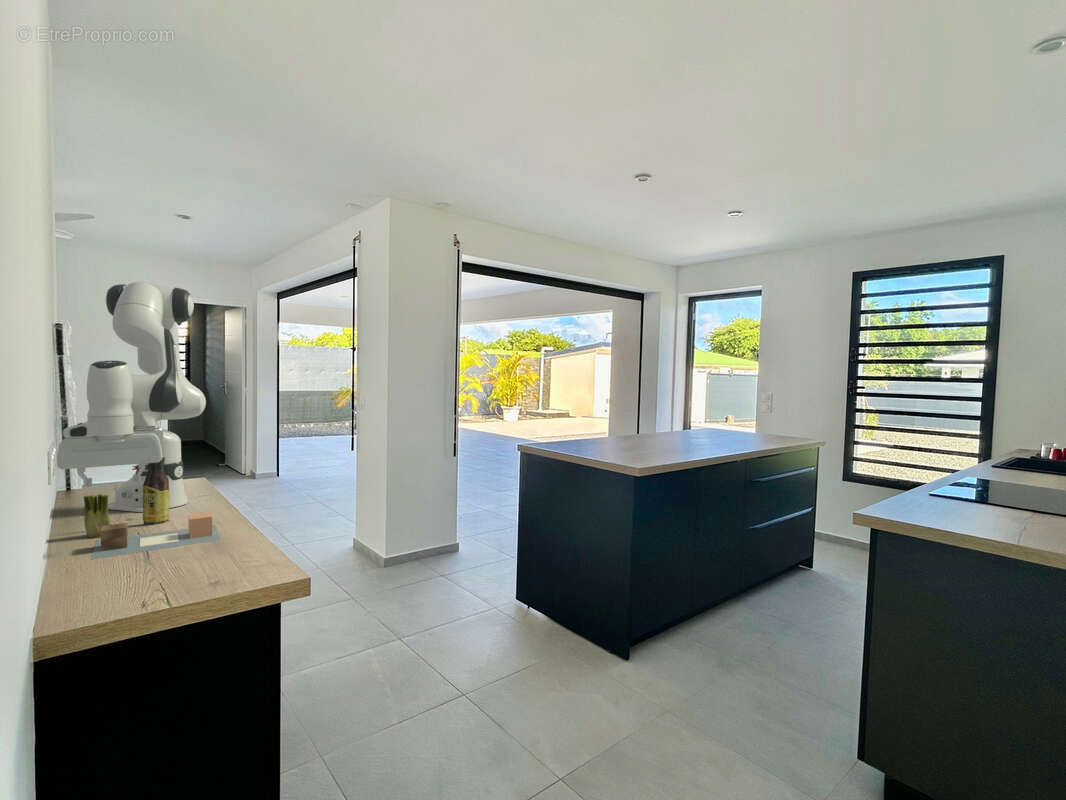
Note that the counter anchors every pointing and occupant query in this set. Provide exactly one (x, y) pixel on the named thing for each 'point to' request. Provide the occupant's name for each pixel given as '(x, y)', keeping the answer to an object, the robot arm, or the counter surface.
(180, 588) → the counter surface
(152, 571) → the counter surface
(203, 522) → the terracotta block
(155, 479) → the sauce bottle
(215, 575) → the counter surface
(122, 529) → the walnut block
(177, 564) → the counter surface
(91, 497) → the fennel bulb
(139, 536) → the build board
